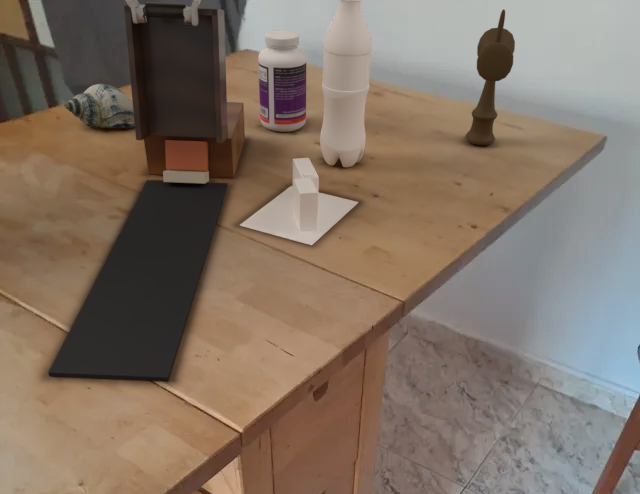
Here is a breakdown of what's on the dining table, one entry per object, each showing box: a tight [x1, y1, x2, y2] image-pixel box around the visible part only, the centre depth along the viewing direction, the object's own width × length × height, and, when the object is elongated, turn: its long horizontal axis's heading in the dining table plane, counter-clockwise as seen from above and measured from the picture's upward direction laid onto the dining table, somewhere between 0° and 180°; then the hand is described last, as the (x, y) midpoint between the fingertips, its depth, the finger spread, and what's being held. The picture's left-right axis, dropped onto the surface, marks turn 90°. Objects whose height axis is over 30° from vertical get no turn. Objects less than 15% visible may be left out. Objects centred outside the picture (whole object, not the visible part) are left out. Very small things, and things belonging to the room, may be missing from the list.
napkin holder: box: [239, 157, 359, 246], centre depth 94 cm, size 15×11×6 cm
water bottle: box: [319, 0, 373, 168], centre depth 102 cm, size 7×7×25 cm
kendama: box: [465, 8, 516, 146], centre depth 111 cm, size 6×10×20 cm, turn 168°
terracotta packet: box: [165, 140, 208, 171], centre depth 101 cm, size 4×6×2 cm
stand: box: [143, 101, 246, 178], centre depth 108 cm, size 16×13×6 cm
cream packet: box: [162, 169, 210, 184], centre depth 101 cm, size 4×6×2 cm, turn 88°
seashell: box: [63, 83, 135, 130], centre depth 117 cm, size 6×8×12 cm
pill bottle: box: [257, 29, 307, 133], centre depth 116 cm, size 8×8×14 cm
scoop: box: [123, 1, 228, 144], centre depth 92 cm, size 16×12×9 cm
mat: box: [47, 179, 229, 382], centre depth 85 cm, size 46×12×1 cm, turn 178°
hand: (166, 23), depth 85 cm, fingers closed on scoop, 5 cm apart
